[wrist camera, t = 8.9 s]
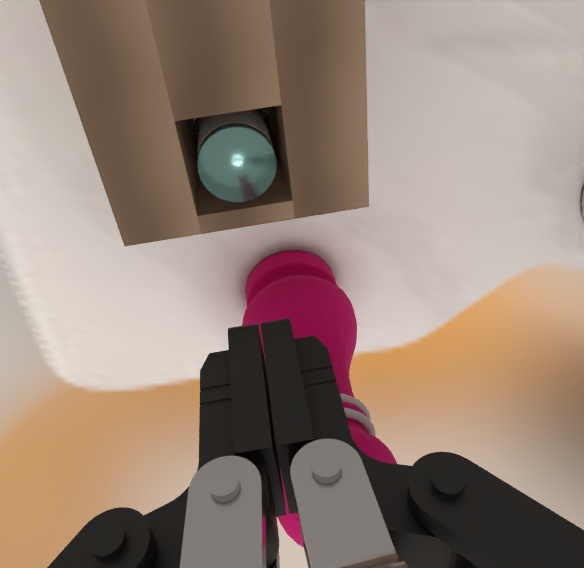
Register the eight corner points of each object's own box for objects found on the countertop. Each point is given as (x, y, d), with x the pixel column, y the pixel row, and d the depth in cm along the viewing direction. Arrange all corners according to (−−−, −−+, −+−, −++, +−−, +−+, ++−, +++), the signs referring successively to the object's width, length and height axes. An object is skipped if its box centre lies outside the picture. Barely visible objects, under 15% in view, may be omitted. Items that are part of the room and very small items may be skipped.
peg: (254, 69, 27) (271, 122, 21) (263, 130, 29) (280, 195, 23) (192, 78, 27) (189, 134, 21) (204, 139, 29) (206, 207, 23)
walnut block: (307, -210, 22) (359, -262, 15) (329, 135, 31) (368, 206, 24) (42, -178, 22) (-36, -216, 15) (142, 164, 31) (124, 246, 23)
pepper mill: (241, 241, 35) (276, 538, 19) (348, 243, 36) (468, 523, 20) (235, 327, 39) (261, 630, 23) (332, 326, 40) (421, 612, 24)
